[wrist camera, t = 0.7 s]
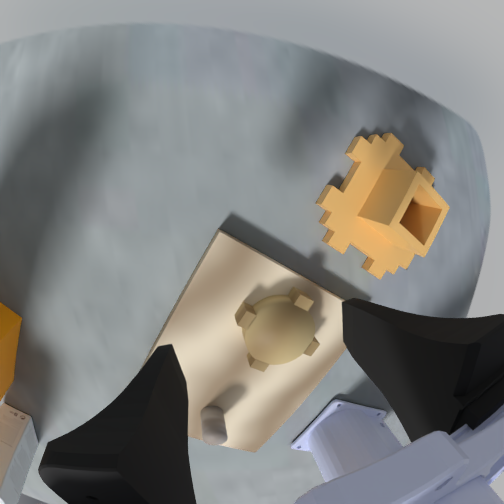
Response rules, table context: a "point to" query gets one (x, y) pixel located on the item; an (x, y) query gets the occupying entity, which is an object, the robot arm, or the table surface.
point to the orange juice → (8, 346)
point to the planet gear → (382, 206)
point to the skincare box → (15, 452)
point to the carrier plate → (227, 348)
